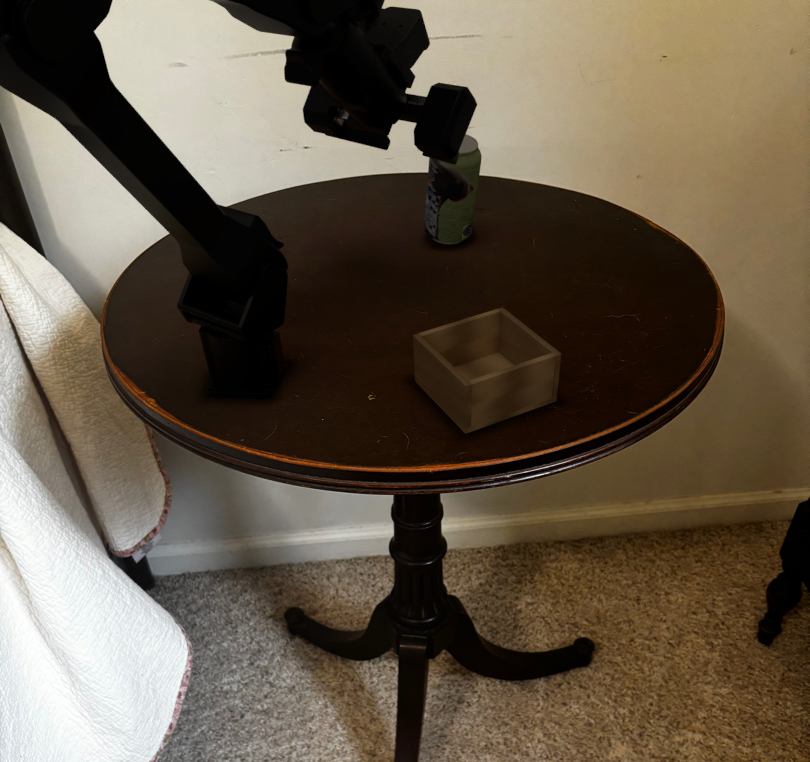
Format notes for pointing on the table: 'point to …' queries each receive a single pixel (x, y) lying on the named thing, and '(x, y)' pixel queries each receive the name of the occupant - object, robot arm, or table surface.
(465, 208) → the beverage can
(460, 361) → the holder
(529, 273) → the table surface
